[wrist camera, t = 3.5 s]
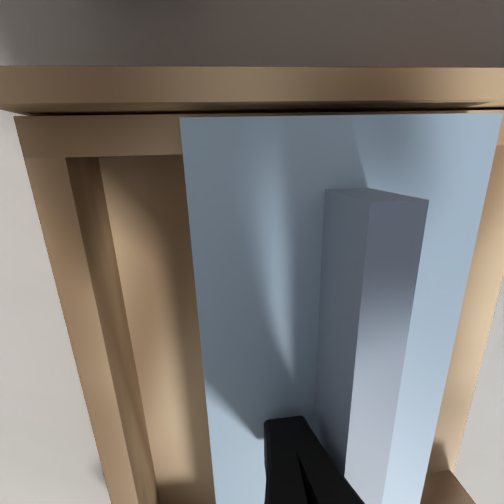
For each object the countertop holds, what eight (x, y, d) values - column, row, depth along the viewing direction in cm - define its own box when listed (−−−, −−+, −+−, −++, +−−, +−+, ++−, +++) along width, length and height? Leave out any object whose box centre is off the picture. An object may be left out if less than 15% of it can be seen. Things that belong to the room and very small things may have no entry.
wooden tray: (536, 83, 12) (701, 46, 8) (440, 486, 19) (501, 574, 15) (33, 85, 10) (-90, 35, 6) (136, 536, 17) (112, 655, 13)
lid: (480, 116, 8) (621, 94, 6) (396, 552, 15) (442, 651, 12) (182, 120, 8) (163, 98, 5) (225, 584, 14) (228, 702, 11)
